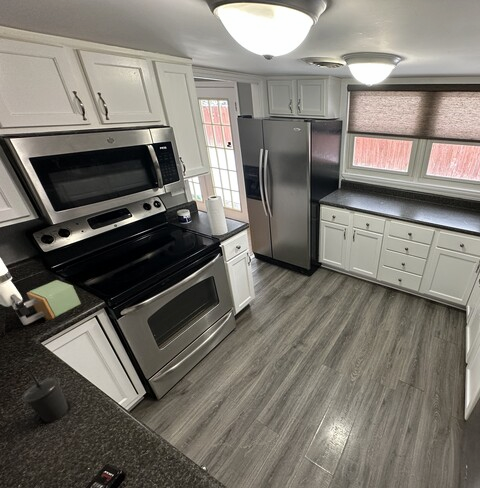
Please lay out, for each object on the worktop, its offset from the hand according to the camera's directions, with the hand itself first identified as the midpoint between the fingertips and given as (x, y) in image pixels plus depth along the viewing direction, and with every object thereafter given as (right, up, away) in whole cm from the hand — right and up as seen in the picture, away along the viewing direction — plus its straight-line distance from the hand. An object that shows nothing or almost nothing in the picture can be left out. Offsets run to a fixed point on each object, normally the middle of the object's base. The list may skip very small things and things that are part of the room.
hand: (17, 312), depth 111 cm
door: (+2, -7, +6) cm, 9 cm away
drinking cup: (+49, -26, -30) cm, 63 cm away
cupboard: (+5, -3, +14) cm, 15 cm away
